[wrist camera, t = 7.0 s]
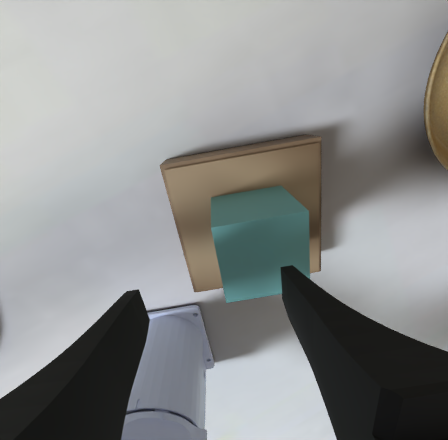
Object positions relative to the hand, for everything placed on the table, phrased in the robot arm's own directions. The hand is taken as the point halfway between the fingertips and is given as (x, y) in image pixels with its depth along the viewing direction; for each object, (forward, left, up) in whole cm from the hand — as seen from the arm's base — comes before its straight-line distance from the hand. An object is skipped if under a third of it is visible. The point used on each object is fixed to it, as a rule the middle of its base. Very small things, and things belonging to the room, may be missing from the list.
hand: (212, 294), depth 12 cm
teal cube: (+1, -3, -6) cm, 7 cm away
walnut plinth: (0, -3, -9) cm, 10 cm away
